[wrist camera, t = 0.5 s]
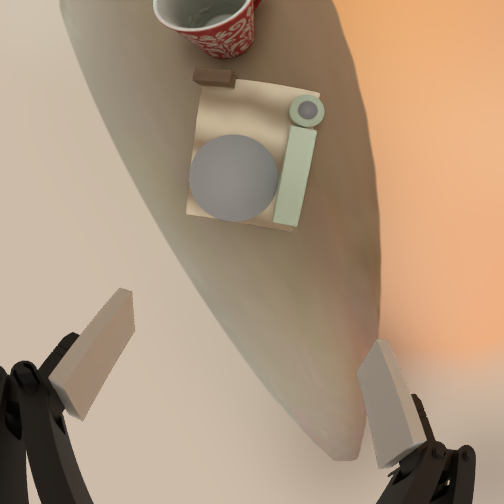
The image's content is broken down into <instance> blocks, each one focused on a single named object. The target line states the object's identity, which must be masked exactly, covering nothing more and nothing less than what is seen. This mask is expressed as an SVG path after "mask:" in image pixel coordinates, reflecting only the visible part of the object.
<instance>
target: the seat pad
mask: <svg viewBox="0 0 504 504" xmlns="http://www.w3.org/2000/svg"><path fill="white" fill-rule="evenodd" d="M189 184H190V189H191V192H192V195H193V197H194V199H195V200H196V202H197V203H198V205H199V206H200V207H201V208H202V209H203V210H204V211H205V212H207V213H208V214H209V215H211V216H213V217H215V218H217V219H220V220H224V221H229V222H239V221H245V220H248V219H251V218H253V217H255V216H257V215H259V214H260V213H261V212H263V211H264V210H265V209H266V208H267V207H268V206H269V204H270V203H271V201H272V200H273V198H274V196H275V193H276V190H277V186H278V172H277V167H276V164H275V161H274V159H273V157H272V156H271V154H270V153H269V151H268V150H267V149H266V148H265V147H264V146H263V145H262V144H260V143H259V142H257V141H256V140H254V139H252V138H249V137H247V136H243V135H234V134H232V135H224V136H220V137H217V138H214V139H212V140H210V141H209V142H207V143H206V144H205V145H204V146H203V147H201V148H200V150H199V151H198V152H197V154H196V155H195V157H194V159H193V161H192V163H191V166H190V171H189Z"/></svg>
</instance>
